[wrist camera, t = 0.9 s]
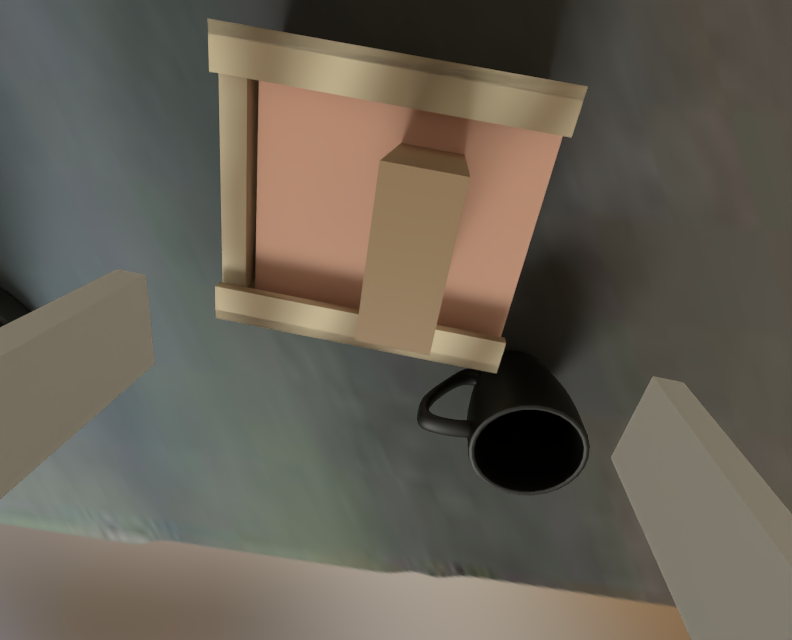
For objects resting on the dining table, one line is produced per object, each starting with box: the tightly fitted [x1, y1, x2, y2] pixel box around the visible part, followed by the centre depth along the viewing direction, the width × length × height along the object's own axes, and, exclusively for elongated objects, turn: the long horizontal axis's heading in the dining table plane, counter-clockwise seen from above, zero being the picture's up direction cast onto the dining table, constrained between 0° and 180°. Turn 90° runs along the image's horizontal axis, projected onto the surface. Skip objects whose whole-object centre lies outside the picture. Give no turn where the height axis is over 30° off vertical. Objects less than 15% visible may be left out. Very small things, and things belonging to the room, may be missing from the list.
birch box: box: [208, 19, 588, 374], centre depth 29 cm, size 18×16×10 cm
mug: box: [417, 351, 590, 495], centre depth 35 cm, size 8×12×10 cm
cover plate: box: [255, 81, 563, 355], centre depth 23 cm, size 16×14×9 cm
